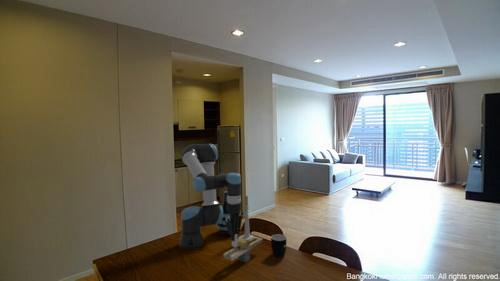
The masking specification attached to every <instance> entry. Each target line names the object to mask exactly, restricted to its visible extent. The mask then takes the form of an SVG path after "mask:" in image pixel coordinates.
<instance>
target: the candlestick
mask: <svg viewBox="0 0 500 281" xmlns="http://www.w3.org/2000/svg"><path fill="white" fill-rule="evenodd" d="M243 206H244V211H245V212H244V234H241V235H240V236H238V239H237V240H239V239H240V238H245V239H248V240H249V239H250V238H252V237H254V236H255V235H252V234H250V220H249V207H250V205H249V196H248V195H244V205H243Z"/></svg>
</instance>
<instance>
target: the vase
mask: <svg viewBox="0 0 500 281" xmlns="http://www.w3.org/2000/svg"><path fill="white" fill-rule="evenodd" d="M227 203H228V202H227V190H226V191H224V192H223V201H222V205H221V206H222V209H223V219H222V221H221V222H220V223H218V224H215V225H216V228H217V230H218V231H219V233H221V234H223V235H227V234H228V230H227V225H226V221H225V218H227V217H228V210H227ZM228 235H229V234H228Z"/></svg>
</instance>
